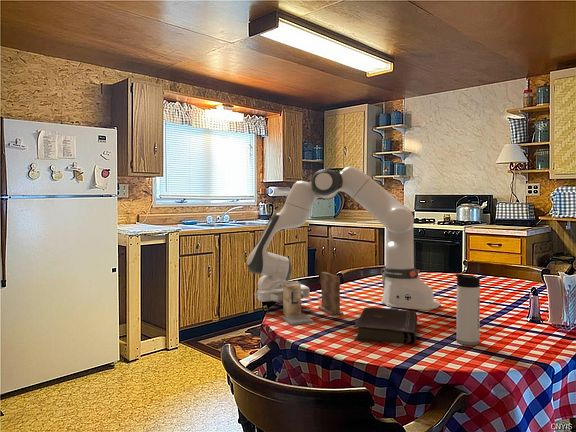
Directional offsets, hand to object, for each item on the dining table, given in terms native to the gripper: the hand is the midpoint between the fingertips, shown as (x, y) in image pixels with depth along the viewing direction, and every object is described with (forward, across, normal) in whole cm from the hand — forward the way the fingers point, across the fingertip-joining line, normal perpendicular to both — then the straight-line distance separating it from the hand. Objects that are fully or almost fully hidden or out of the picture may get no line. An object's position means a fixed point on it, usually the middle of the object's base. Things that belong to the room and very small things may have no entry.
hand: (290, 297), depth 169 cm
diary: (+33, +20, +7) cm, 39 cm away
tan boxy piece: (+2, 0, +6) cm, 6 cm away
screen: (+3, +15, +6) cm, 16 cm away
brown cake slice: (-20, +59, +6) cm, 63 cm away
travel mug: (+52, +35, +6) cm, 63 cm away
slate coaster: (+11, -2, +6) cm, 12 cm away
